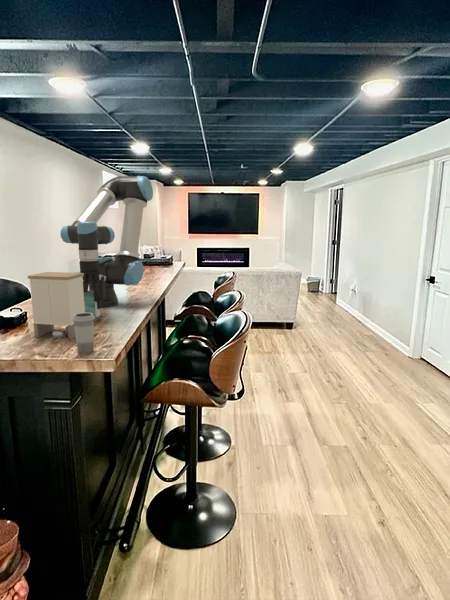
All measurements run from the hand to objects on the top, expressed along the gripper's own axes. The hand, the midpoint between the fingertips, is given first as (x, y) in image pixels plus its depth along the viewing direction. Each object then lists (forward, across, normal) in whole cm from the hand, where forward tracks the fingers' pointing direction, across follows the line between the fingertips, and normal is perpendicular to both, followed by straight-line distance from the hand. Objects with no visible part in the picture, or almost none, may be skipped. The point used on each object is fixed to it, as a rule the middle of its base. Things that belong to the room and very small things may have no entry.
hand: (92, 316), depth 162 cm
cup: (+2, +17, -38) cm, 42 cm away
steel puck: (+2, 0, -24) cm, 25 cm away
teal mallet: (+2, 0, -8) cm, 8 cm away
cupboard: (+2, -1, -22) cm, 22 cm away
